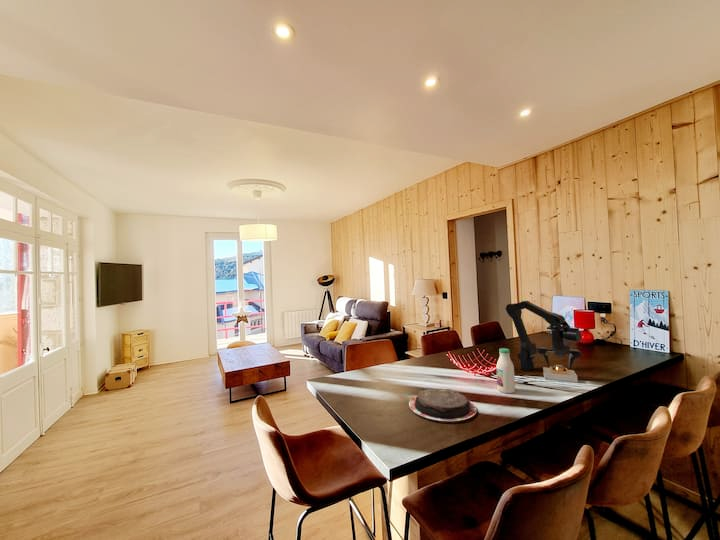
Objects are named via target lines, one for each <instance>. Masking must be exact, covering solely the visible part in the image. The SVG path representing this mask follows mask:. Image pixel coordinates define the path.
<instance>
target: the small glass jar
mask: <svg viewBox="0 0 720 540" xmlns="http://www.w3.org/2000/svg"><path fill="white" fill-rule="evenodd" d="M553 367H555V370H557V371H564V368H565V367H564V365H561V364H554V366H553Z"/></svg>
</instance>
